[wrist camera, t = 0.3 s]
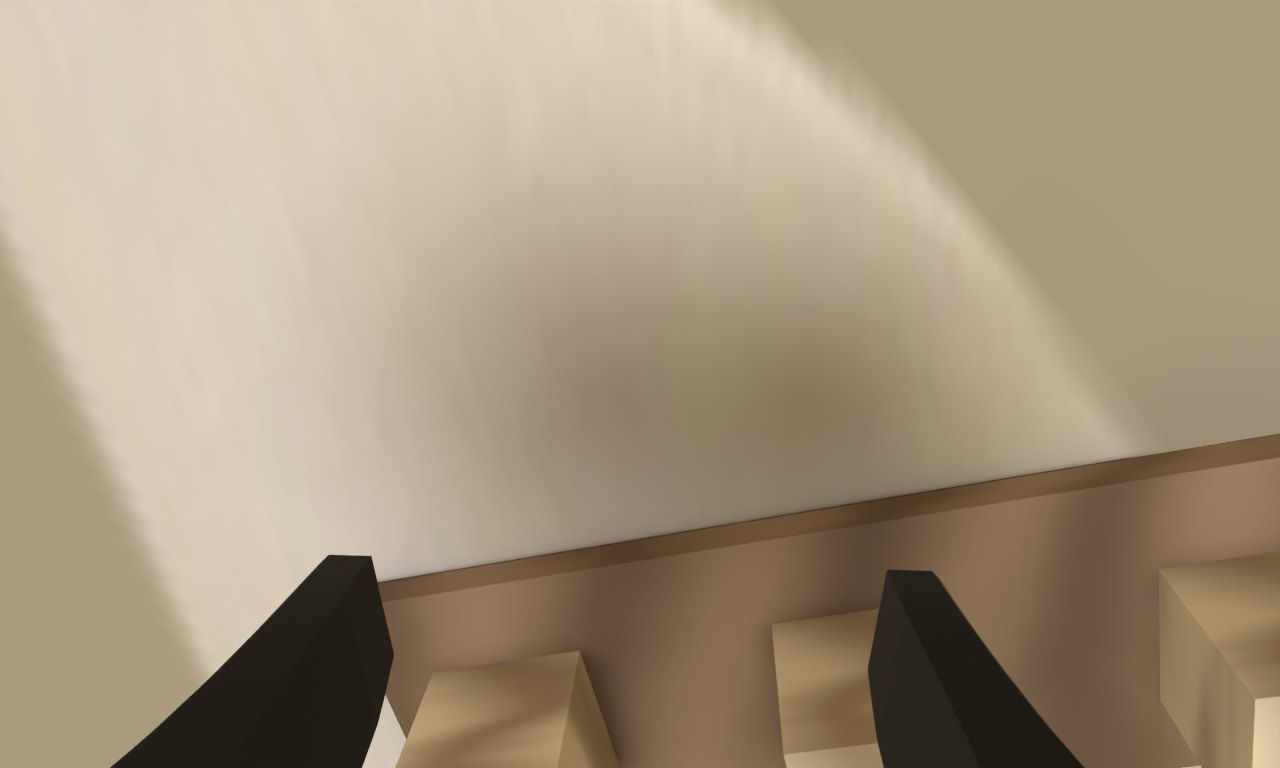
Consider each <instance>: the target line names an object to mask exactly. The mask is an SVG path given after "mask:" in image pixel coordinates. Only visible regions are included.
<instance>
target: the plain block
mask: <svg viewBox="0 0 1280 768" xmlns="http://www.w3.org/2000/svg"><path fill="white" fill-rule="evenodd" d="M878 613H879V609H872V610H865V611H859V612H852V613H845V614H838V615H831V616H824V617H817V618H811V619H804V620H797V621H790V622H783V623H776V624H772V634H773V645H774V656H775V667H776V678H777V689H778V700H779V711H780V721H781V732H782V743H783V754H784V758H785V763H786V767H787V768H884V767H883V763H882V759H881V755H880V751H879V747H878V742H877V736H876V729H875V722H874V716H873V709H872V701H871V693H870V685H869V677H868V664H869V659H870V654H871V649H872V644H873V639H874V633H875V628H876V623H877V618H878Z"/></svg>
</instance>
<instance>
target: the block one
mask: <svg viewBox="0 0 1280 768" xmlns="http://www.w3.org/2000/svg"><path fill="white" fill-rule="evenodd" d="M1159 638H1160V700H1161V702H1162V703H1163V705H1164V707H1165V708H1166V710H1167V712H1168V713H1169V715H1170V716H1171V718H1172V720H1173V721H1174V723H1175V725H1176V726H1177V728H1178V730H1179V731H1180V733H1181V734H1182V736H1183V738H1184V739H1185V741H1186V743H1187V744H1188V746H1189V747H1190V749H1191V751H1192V752H1193V754H1194V756H1195V757H1196V759H1197V760H1198V762H1199V764H1200V765H1201V767H1202V768H1280V552H1274V553H1267V554H1260V555H1253V556H1246V557H1239V558H1232V559H1225V560H1219V561H1212V562H1205V563H1198V564H1191V565H1184V566H1177V567H1171V568H1164V569H1159Z"/></svg>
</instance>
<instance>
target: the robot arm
mask: <svg viewBox="0 0 1280 768" xmlns="http://www.w3.org/2000/svg"><path fill="white" fill-rule="evenodd" d="M393 658H394V652H393V647H392V643H391V639H390V634H389V630H388V626H387V622H386V617H385V613H384V609H383V604H382V600H381V596H380V591H379V587H378V583H377V579H376V574H375V570H374V566H373V561H372V557H371V556H349V555H328V556H327V557H326V558H325V559H324V560H323V561H322V562H321V563H320V564H319V565H318V566H317V567H316V568H315V569H314V570H313V571H312V573H311V574H310V575H309V576H308V577H307V578H306V579H305V580H304V581H303V582H302V583H301V584H300V585H299V586H298V587H297V588H296V590H295V591H294V592H293V593H292V594H291V595H290V596H289V597H288V598H287V599H286V600H285V601H284V602H283V603H282V605H281V606H280V607H279V608H278V609H277V610H276V611H275V612H274V613H273V614H272V615H271V616H270V617H269V618H268V619H267V620H266V621H265V622H264V624H263V625H262V626H261V627H260V628H259V629H258V630H257V631H256V632H255V633H254V634H253V635H252V636H251V637H250V638H249V639H248V640H247V641H246V642H245V643H244V644H243V645H242V646H241V647H240V648H239V649H238V650H237V651H236V652H235V653H234V654H233V655H232V656H231V657H230V658H229V659H228V660H227V661H226V662H225V663H224V664H223V665H222V666H221V667H220V668H219V669H218V670H217V671H216V672H215V673H214V674H213V675H212V676H211V677H210V678H209V679H208V680H207V681H206V682H205V683H204V684H203V685H202V686H201V687H200V688H199V689H198V690H197V691H196V692H194V693H193V694H192V695H191V696H190V697H189V698H188V699H187V700H186V701H185V702H184V703H183V704H182V705H181V706H179V707H178V708H177V709H176V710H175V711H174V712H173V713H172V714H171V715H170V716H169V717H168V718H167V719H165V720H164V721H163V722H162V723H161V724H160V725H159V726H158V727H157V728H156V729H155V730H154V731H153V732H151V733H150V734H149V735H148V736H147V737H146V738H144V739H143V740H142V741H141V742H140V743H139V744H138V745H136V746H135V747H134V748H133V749H132V750H131V751H129V752H128V753H127V754H126V755H125V756H124V757H122V758H121V759H120V760H119V761H118V762H116V763H115V764H114V765H113V766H112V767H111V768H362V766H363V763H364V760H365V758H366V755H367V752H368V749H369V747H370V744H371V741H372V738H373V736H374V733H375V730H376V727H377V724H378V721H379V717H380V713H381V709H382V705H383V701H384V697H385V693H386V689H387V684H388V680H389V675H390V671H391V667H392V662H393ZM868 677H869V685H870V693H871V701H872V709H873V716H874V722H875V729H876V736H877V742H878V747H879V751H880V755H881V759H882V763H883V767H884V768H1085V767H1084V766H1083V765H1082V764H1081V763H1080V762H1079V761H1078V759H1077V758H1076V757H1075V756H1074V755H1073V754H1072V752H1071V751H1070V750H1069V749H1068V748H1067V747H1066V746H1065V744H1064V743H1063V742H1062V741H1061V740H1060V739H1059V738H1058V736H1057V735H1056V734H1055V733H1054V732H1053V730H1052V729H1051V728H1050V727H1049V726H1048V724H1047V723H1046V722H1045V721H1044V720H1043V718H1042V717H1041V716H1040V715H1039V714H1038V712H1037V711H1036V710H1035V709H1034V707H1033V706H1032V705H1031V704H1030V702H1029V701H1028V700H1027V698H1026V697H1025V696H1024V695H1023V693H1022V692H1021V691H1020V690H1019V688H1018V687H1017V686H1016V684H1015V683H1014V682H1013V681H1012V679H1011V678H1010V677H1009V676H1008V674H1007V673H1006V672H1005V670H1004V669H1003V668H1002V666H1001V665H1000V664H999V663H998V661H997V660H996V659H995V657H994V656H993V655H992V653H991V652H990V650H989V649H988V648H987V646H986V645H985V644H984V642H983V641H982V639H981V638H980V637H979V635H978V634H977V633H976V631H975V630H974V628H973V627H972V626H971V624H970V623H969V621H968V620H967V619H966V617H965V616H964V614H963V613H962V611H961V610H960V608H959V607H958V606H957V604H956V603H955V601H954V600H953V598H952V597H951V595H950V594H949V592H948V591H947V590H946V588H945V587H944V585H943V584H942V582H941V581H940V579H939V578H938V577H937V576H936V575H935V573H934V572H933V571H920V570H887V572H886V577H885V582H884V587H883V592H882V598H881V603H880V608H879V613H878V618H877V623H876V628H875V633H874V639H873V644H872V649H871V654H870V659H869V664H868Z"/></svg>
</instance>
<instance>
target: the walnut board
mask: <svg viewBox="0 0 1280 768" xmlns="http://www.w3.org/2000/svg"><path fill="white" fill-rule="evenodd" d="M1274 552H1280V434H1275V435H1269V436H1263V437H1257V438H1251V439H1245V440H1239V441H1233V442H1227V443H1221V444H1215V445H1209V446H1203V447H1197V448H1191V449H1185V450H1179V451H1172V452H1167V453H1160V454H1154V455H1148V456H1142V457H1136V458H1130V459H1124V460H1118V461H1112V462H1106V463H1100V464H1094V465H1088V466H1082V467H1076V468H1070V469H1064V470H1058V471H1052V472H1046V473H1040V474H1034V475H1028V476H1022V477H1016V478H1010V479H1004V480H997V481H991V482H985V483H979V484H973V485H967V486H961V487H955V488H949V489H943V490H937V491H931V492H925V493H919V494H913V495H907V496H901V497H895V498H889V499H883V500H877V501H871V502H865V503H859V504H853V505H847V506H841V507H835V508H828V509H822V510H816V511H810V512H804V513H798V514H792V515H786V516H780V517H774V518H768V519H762V520H756V521H750V522H744V523H738V524H732V525H726V526H720V527H714V528H708V529H702V530H696V531H690V532H684V533H678V534H672V535H666V536H660V537H653V538H647V539H641V540H635V541H629V542H623V543H617V544H611V545H605V546H599V547H593V548H587V549H581V550H575V551H569V552H563V553H557V554H551V555H545V556H539V557H533V558H527V559H521V560H515V561H509V562H503V563H497V564H491V565H485V566H478V567H472V568H466V569H460V570H454V571H448V572H442V573H436V574H430V575H424V576H418V577H412V578H406V579H400V580H394V581H388V582H382V583H378V587H379V591H380V596H381V600H382V604H383V609H384V613H385V617H386V622H387V626H388V630H389V634H390V639H391V643H392V647H393V652H394V658H393V662H392V667H391V671H390V675H389V680H388V684H387V689H386V693H385V694H386V697H387V699H388V701H389V703H390V705H391V707H392V709H393V711H394V713H395V716H396V718H397V720H398V722H399V724H400V726H401V728H402V730H403V733H404V735H405V737H406V739H407V737H408V735H409V732H410V730H411V727H412V724H413V722H414V719H415V717H416V714H417V712H418V709H419V707H420V704H421V702H422V699H423V697H424V694H425V692H426V689H427V686H428V684H429V681H430V679H431V676H432V674H433V672H438V671H445V670H452V669H459V668H466V667H472V666H479V665H486V664H493V663H500V662H507V661H513V660H520V659H527V658H534V657H541V656H548V655H555V654H561V653H568V652H575V651H580V653H581V656H582V659H583V662H584V665H585V668H586V671H587V673H588V676H589V679H590V682H591V685H592V688H593V691H594V693H595V696H596V699H597V702H598V705H599V708H600V711H601V714H602V716H603V719H604V722H605V725H606V728H607V731H608V734H609V736H610V739H611V742H612V745H613V748H614V751H615V754H616V757H617V759H618V762H619V768H787V767H786V763H785V758H784V754H783V743H782V732H781V721H780V711H779V700H778V689H777V678H776V667H775V656H774V645H773V634H772V624H776V623H783V622H790V621H797V620H804V619H811V618H817V617H824V616H831V615H838V614H845V613H852V612H859V611H865V610H872V609H879V608H880V603H881V598H882V592H883V587H884V582H885V577H886V572H887V570H920V571H933V572H934V573H935V575H936V576H937V577H938V578H939V579H940V581H941V582H942V584H943V585H944V587H945V588H946V590H947V591H948V592H949V594H950V595H951V597H952V598H953V600H954V601H955V603H956V604H957V606H958V607H959V608H960V610H961V611H962V613H963V614H964V616H965V617H966V619H967V620H968V621H969V623H970V624H971V626H972V627H973V628H974V630H975V631H976V633H977V634H978V635H979V637H980V638H981V639H982V641H983V642H984V644H985V645H986V646H987V648H988V649H989V650H990V652H991V653H992V655H993V656H994V657H995V659H996V660H997V661H998V663H999V664H1000V665H1001V666H1002V668H1003V669H1004V670H1005V672H1006V673H1007V674H1008V676H1009V677H1010V678H1011V679H1012V681H1013V682H1014V683H1015V684H1016V686H1017V687H1018V688H1019V690H1020V691H1021V692H1022V693H1023V695H1024V696H1025V697H1026V698H1027V700H1028V701H1029V702H1030V704H1031V705H1032V706H1033V707H1034V709H1035V710H1036V711H1037V712H1038V714H1039V715H1040V716H1041V717H1042V718H1043V720H1044V721H1045V722H1046V723H1047V724H1048V726H1049V727H1050V728H1051V729H1052V730H1053V732H1054V733H1055V734H1056V735H1057V736H1058V738H1059V739H1060V740H1061V741H1062V742H1063V743H1064V744H1065V746H1066V747H1067V748H1068V749H1069V750H1070V751H1071V752H1072V754H1073V755H1074V756H1075V757H1076V758H1077V759H1078V761H1079V762H1080V763H1081V764H1082V765H1083V766H1084V767H1085V768H1182V767H1191V766H1200V764H1199V762H1198V760H1197V759H1196V757H1195V756H1194V754H1193V752H1192V751H1191V749H1190V747H1189V746H1188V744H1187V743H1186V741H1185V739H1184V738H1183V736H1182V734H1181V733H1180V731H1179V730H1178V728H1177V726H1176V725H1175V723H1174V721H1173V720H1172V718H1171V716H1170V715H1169V713H1168V712H1167V710H1166V708H1165V707H1164V705H1163V703H1162V702H1161V700H1160V638H1159V569H1164V568H1171V567H1177V566H1184V565H1191V564H1198V563H1205V562H1212V561H1219V560H1225V559H1232V558H1239V557H1246V556H1253V555H1260V554H1267V553H1274Z"/></svg>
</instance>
